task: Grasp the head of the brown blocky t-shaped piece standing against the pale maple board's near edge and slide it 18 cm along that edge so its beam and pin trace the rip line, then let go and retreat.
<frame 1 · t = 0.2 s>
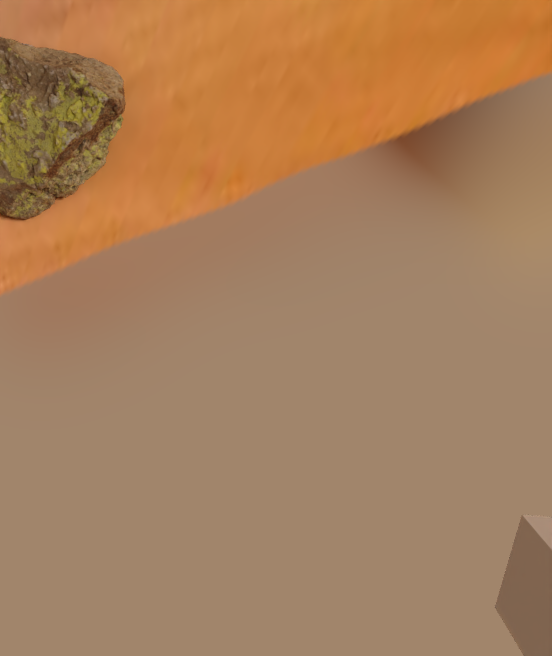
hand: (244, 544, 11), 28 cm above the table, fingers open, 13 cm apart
rock: (40, 122, 34), on the table
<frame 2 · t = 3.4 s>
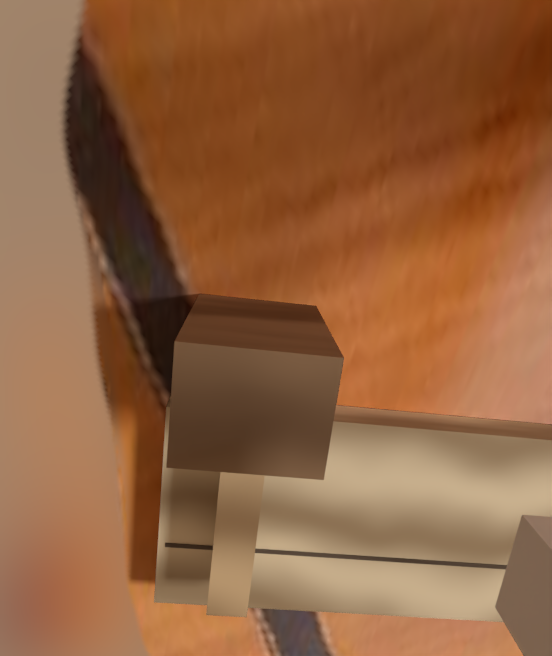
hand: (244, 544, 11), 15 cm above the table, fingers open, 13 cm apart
board: (406, 506, 28), on the table
brown blocky t-shaped piece: (253, 346, 25), on the table
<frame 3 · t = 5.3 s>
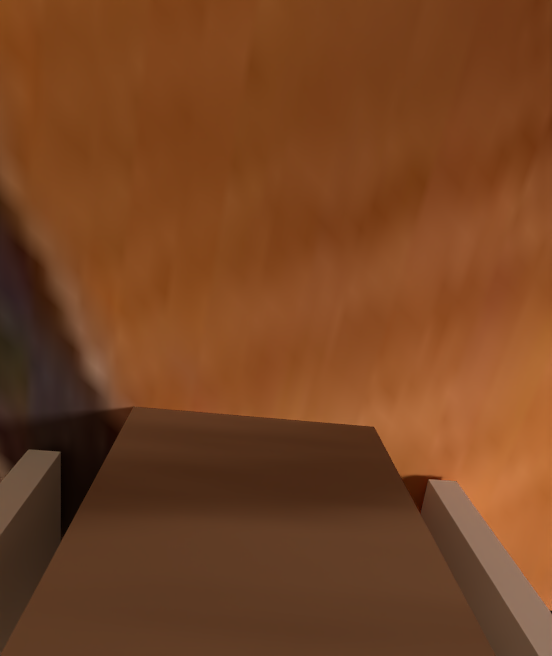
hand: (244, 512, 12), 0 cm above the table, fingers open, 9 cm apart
brown blocky t-shaped piece: (245, 503, 13), on the table
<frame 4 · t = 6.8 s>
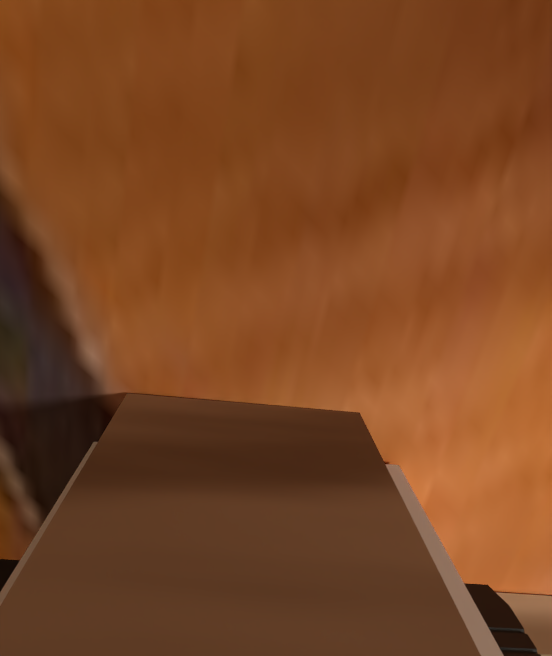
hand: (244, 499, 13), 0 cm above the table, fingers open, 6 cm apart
brown blocky t-shaped piece: (236, 487, 13), on the table, touching gripper
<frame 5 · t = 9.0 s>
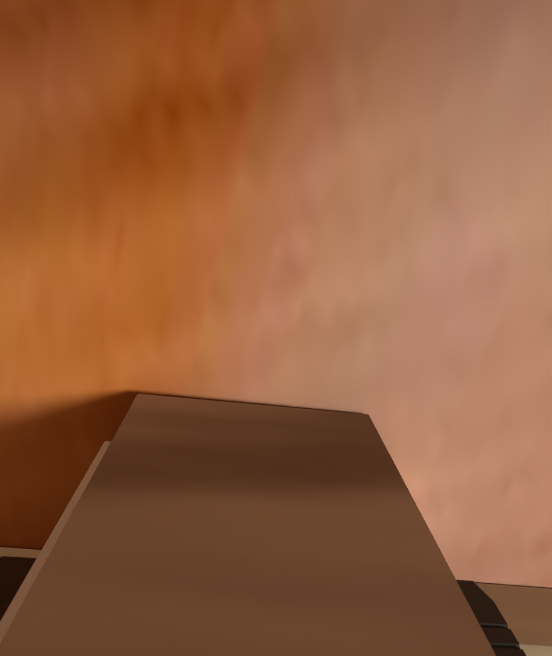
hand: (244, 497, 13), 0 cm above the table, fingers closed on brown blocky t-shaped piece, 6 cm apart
brown blocky t-shaped piece: (245, 488, 13), on the table, touching gripper
when the fingers open (0 cm above the table, at t = 11.1 s): brown blocky t-shaped piece stays where it is, on the table.
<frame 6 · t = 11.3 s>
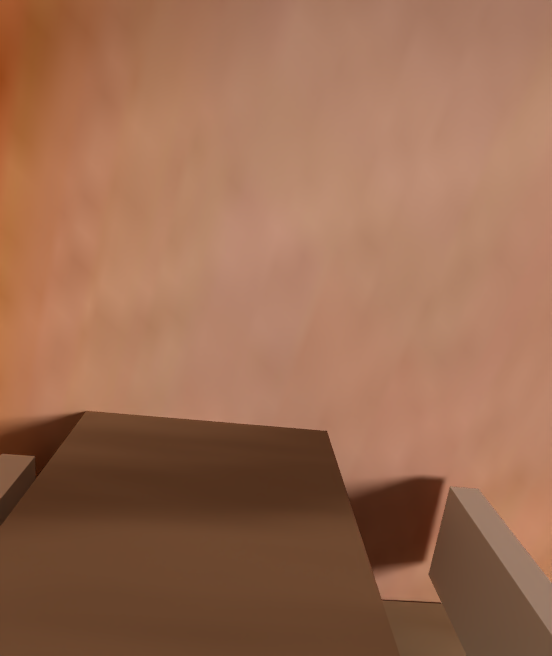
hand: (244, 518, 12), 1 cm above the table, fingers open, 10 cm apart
brown blocky t-shaped piece: (201, 506, 13), on the table
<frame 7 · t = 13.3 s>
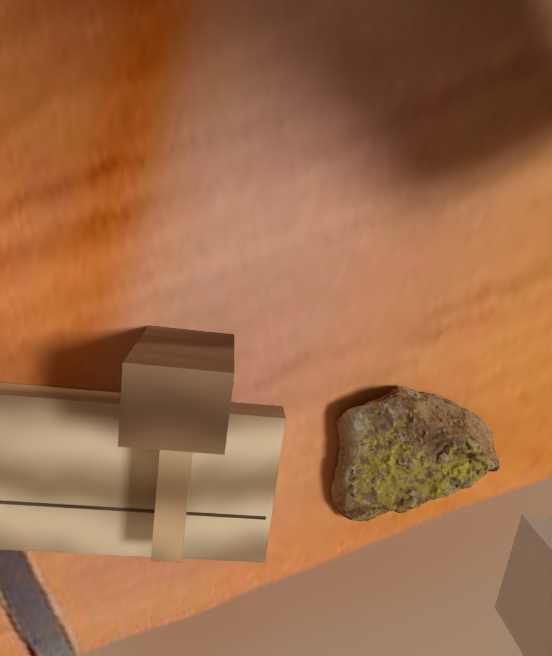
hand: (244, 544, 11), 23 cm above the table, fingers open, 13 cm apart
board: (85, 465, 36), on the table
rock: (391, 439, 38), on the table
brown blocky t-shaped piece: (188, 363, 35), on the table
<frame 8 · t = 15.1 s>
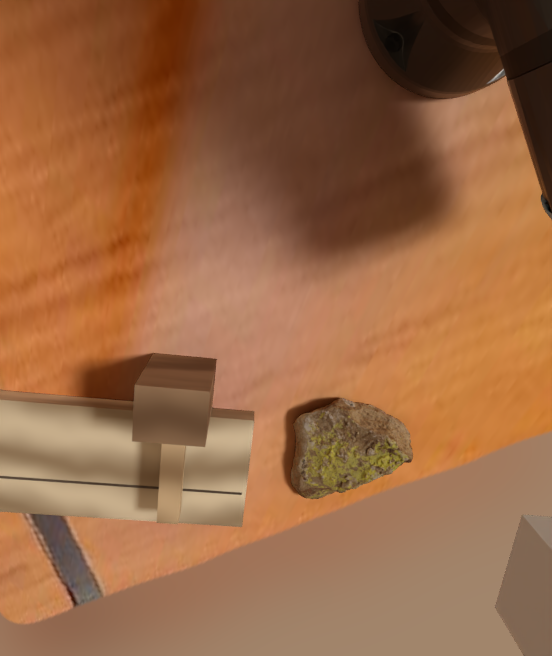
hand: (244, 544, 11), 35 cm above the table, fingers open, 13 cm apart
board: (109, 454, 49), on the table
rock: (337, 437, 50), on the table
brown blocky t-shaped piece: (183, 380, 47), on the table
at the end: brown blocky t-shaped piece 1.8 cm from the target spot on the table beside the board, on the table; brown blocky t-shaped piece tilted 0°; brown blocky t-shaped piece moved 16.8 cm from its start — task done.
